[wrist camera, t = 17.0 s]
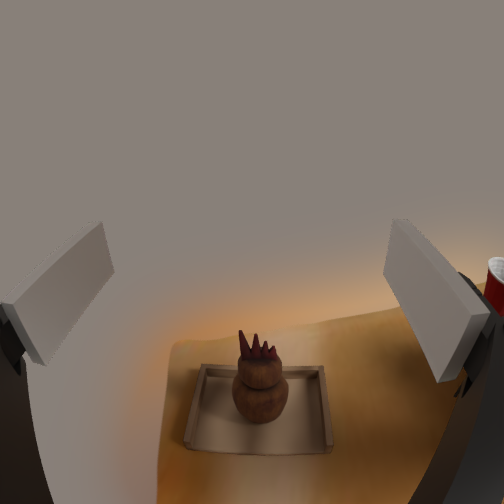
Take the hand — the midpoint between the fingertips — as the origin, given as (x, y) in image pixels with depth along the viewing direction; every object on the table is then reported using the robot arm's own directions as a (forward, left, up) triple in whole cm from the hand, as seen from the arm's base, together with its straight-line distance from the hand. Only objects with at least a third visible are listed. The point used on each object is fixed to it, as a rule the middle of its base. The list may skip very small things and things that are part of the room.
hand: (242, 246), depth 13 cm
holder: (0, -11, -30) cm, 32 cm away
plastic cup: (-49, -27, -30) cm, 63 cm away
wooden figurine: (0, -11, -30) cm, 32 cm away
